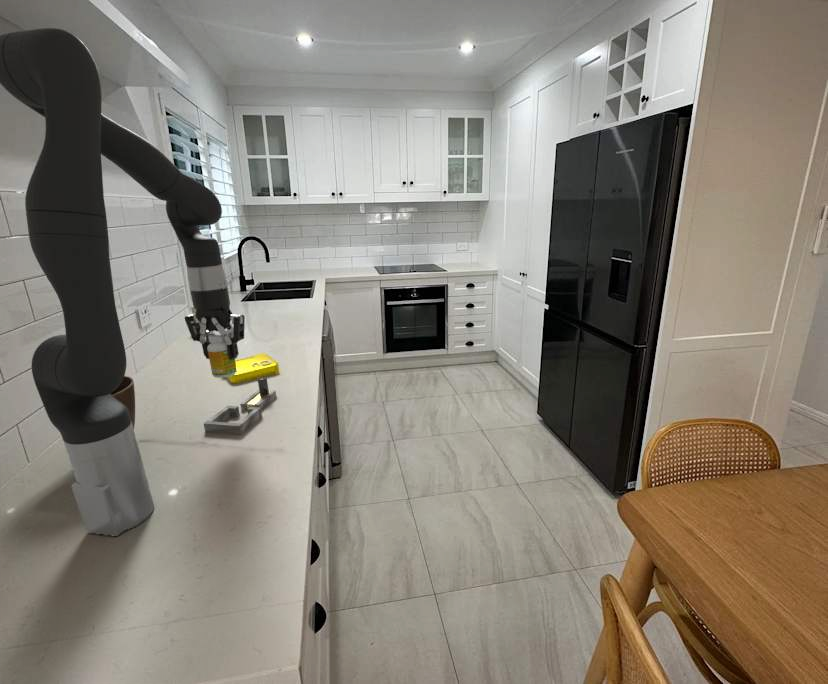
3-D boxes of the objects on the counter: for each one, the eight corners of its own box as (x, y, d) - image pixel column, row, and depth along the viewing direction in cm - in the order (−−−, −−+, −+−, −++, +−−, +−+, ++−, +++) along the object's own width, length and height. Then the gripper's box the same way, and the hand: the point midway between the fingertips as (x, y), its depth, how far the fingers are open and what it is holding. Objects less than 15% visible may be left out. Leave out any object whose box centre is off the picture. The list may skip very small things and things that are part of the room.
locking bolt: (255, 410, 111) (252, 389, 109) (247, 409, 112) (243, 389, 110) (271, 396, 119) (268, 377, 117) (263, 396, 119) (260, 377, 118)
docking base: (245, 442, 98) (243, 429, 97) (195, 438, 100) (192, 425, 99) (293, 397, 120) (291, 386, 119) (251, 395, 123) (249, 384, 122)
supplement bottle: (228, 378, 97) (220, 338, 94) (207, 377, 98) (199, 337, 95) (241, 370, 102) (235, 331, 99) (222, 369, 103) (214, 330, 100)
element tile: (266, 363, 149) (264, 351, 147) (281, 376, 137) (279, 362, 136) (221, 374, 140) (218, 361, 139) (233, 389, 129) (230, 374, 127)
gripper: (167, 289, 92) (183, 363, 97) (227, 289, 89) (240, 365, 94) (191, 283, 99) (205, 352, 104) (247, 283, 96) (258, 353, 101)
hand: (222, 357), depth 99 cm, fingers closed on supplement bottle, 5 cm apart
